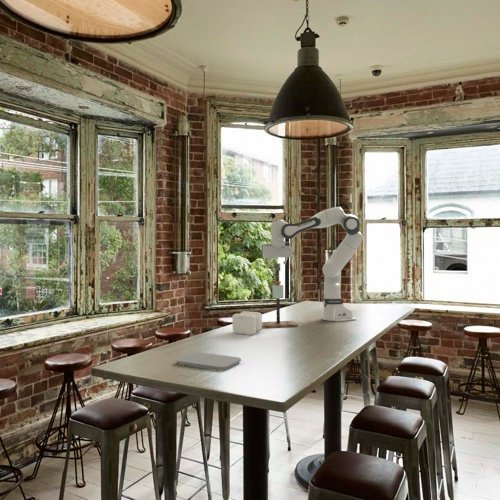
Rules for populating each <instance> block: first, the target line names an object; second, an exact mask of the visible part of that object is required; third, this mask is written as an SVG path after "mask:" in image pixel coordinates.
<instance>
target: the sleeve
mask: <svg viewBox="0 0 500 500" xmlns="http://www.w3.org/2000/svg"><path fill="white" fill-rule="evenodd" d="M271 286H272V298H273V299H277V298H280V299H284V285H283V284H279V285H276V284H272V285H271Z"/></svg>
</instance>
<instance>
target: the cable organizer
mask: <svg viewBox="0 0 500 500" xmlns="http://www.w3.org/2000/svg"><path fill="white" fill-rule="evenodd" d="M262 316H263V315H262V313H261V312H257V311H256V312H255V311H247V310H243V311H241V312H240V313H234V314H232V320H231V321H232V332H234V334H235V333H236V335H237V334H238V335H242V334H244V335H247V336H252V335H255V334H256V333H259V332H262V330H263V328H262V322H263V317H262Z"/></svg>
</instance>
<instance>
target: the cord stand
mask: <svg viewBox="0 0 500 500" xmlns="http://www.w3.org/2000/svg"><path fill="white" fill-rule="evenodd" d="M274 271H275V280H274V285H279V284H280V285H282V282H281V280H280V272H281V263H274ZM275 299H276V298H275ZM280 299H281V298H277V299H276V300H275V303H276V304H275V305H276V306H275V307H276V308H275V309H276V321H262V329H277V328H278V329H279V328H282V329H283V328H298V327H299V324H298V323H297V322H296V321H294V320H282V321H281V318H280V317H281V315H280V314H281V313H280V312H281V307H280V306H281V304H280V303H281V302H280Z"/></svg>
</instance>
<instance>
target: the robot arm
mask: <svg viewBox="0 0 500 500" xmlns="http://www.w3.org/2000/svg"><path fill="white" fill-rule="evenodd" d="M339 224H340V226H341V227H342V228H343V229H344V231H345V232H346V235H345V237H344V238H342V241H341V242H340V244H339V245H338V246H337V248H336V249H335V250H334V252H333V253H332V254H331V255H330V257H329V258H328V259H327V260H326V261H325V263H324V264H323V265H322V273H323V275H324V278H323V279H324V280H323V281H324V282H323V299H322V305H323V311H322V316H321V320H323V321H328V322H330V321H331V322H347V321H356V320H357V317H356V316H353V311H352V309H351V308H350V307H348V306H347V305H346V304H345V303H346V302H347V300H346V298H343V297H342V296H341V295H342V294H341V292H342V291H341V289H342V288H341V286H342V270H343V269H344V268H345V266H346V265H347V263H349V261H350V260H351V258H352V257H353V256H354V254H355V253H356V251H358V250H359V248H360V246H361V244H362V242H363V240H364V236H363V234H362V232H360V226H361V223H360V219H359V218H358V217H357V216H356V215H354V214H350V213H345V211H344V209H343V208H342V207H341V206H335V207H330V208H327V209H324V210H322V211H319V212H318V213H316V214H315V215H313V216H311V217H310V218H307V219H305V220H302V221H299V222H296V223H289V222H287V221H285V220H284V219H281V218H280V219H275V220H272V222H271V224H270V234H271V237H270V243H264V244H263V245H262V246H261V247H262V258H264V259H267V261H268V263H269V265H270V266H271V265H273V261H271V259H273V258H276V259H277V258H284V259H285V260H284V261H283V265H287V262H288V261H287V260H288V258H292V257H293V255H294V252H293V247H292V243H291V242H288V241H285V240H292V239H294V238H296V237H297V236H298V235H299V234H300V233H302V232H303V233H304V232H305V231H308V230H311V229H324V228H328V227H331V226H334V225H339Z"/></svg>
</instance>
